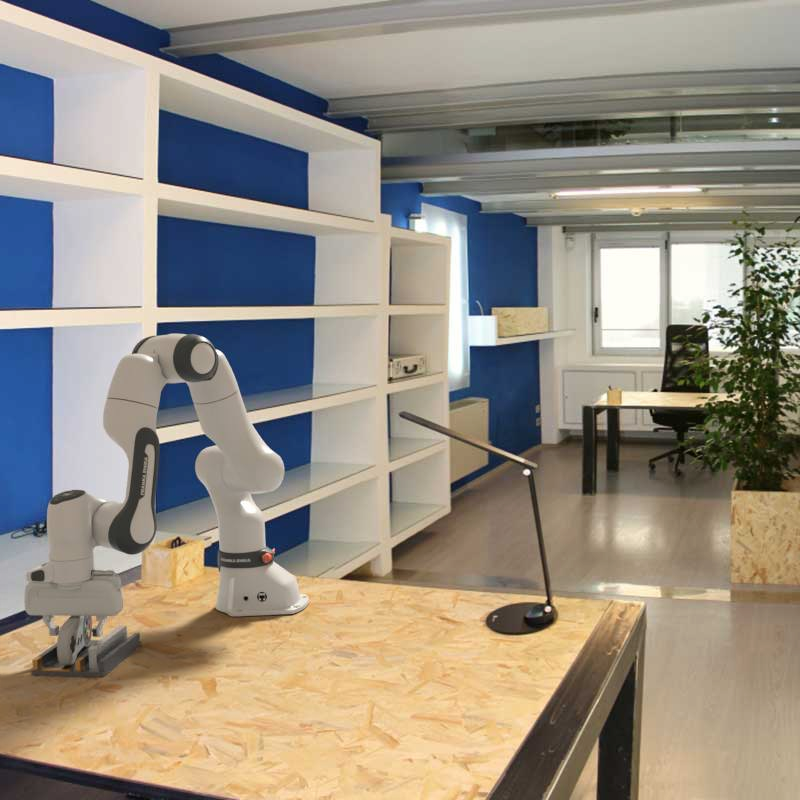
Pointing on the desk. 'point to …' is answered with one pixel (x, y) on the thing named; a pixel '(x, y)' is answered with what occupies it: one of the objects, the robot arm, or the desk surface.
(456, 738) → the desk surface
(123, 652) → the phone stand
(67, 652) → the game controller
